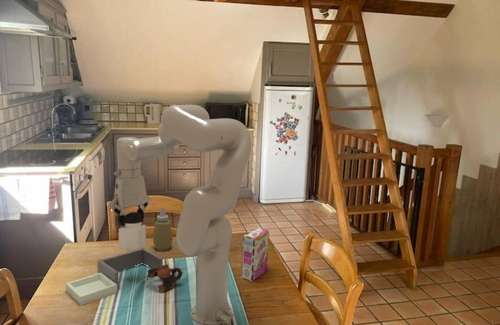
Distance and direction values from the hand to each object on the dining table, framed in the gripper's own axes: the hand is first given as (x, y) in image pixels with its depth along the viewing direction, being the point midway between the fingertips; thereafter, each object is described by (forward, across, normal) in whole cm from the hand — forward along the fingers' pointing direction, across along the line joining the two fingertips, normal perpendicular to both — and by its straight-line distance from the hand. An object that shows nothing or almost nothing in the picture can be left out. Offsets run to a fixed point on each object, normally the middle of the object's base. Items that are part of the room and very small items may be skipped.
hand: (131, 222), depth 139 cm
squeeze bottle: (+20, +22, +15) cm, 33 cm away
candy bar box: (+21, +34, -28) cm, 49 cm away
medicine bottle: (+8, -1, -2) cm, 9 cm away
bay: (+20, 0, +1) cm, 20 cm away
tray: (+20, -16, -1) cm, 25 cm away
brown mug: (+21, +5, -15) cm, 27 cm away
